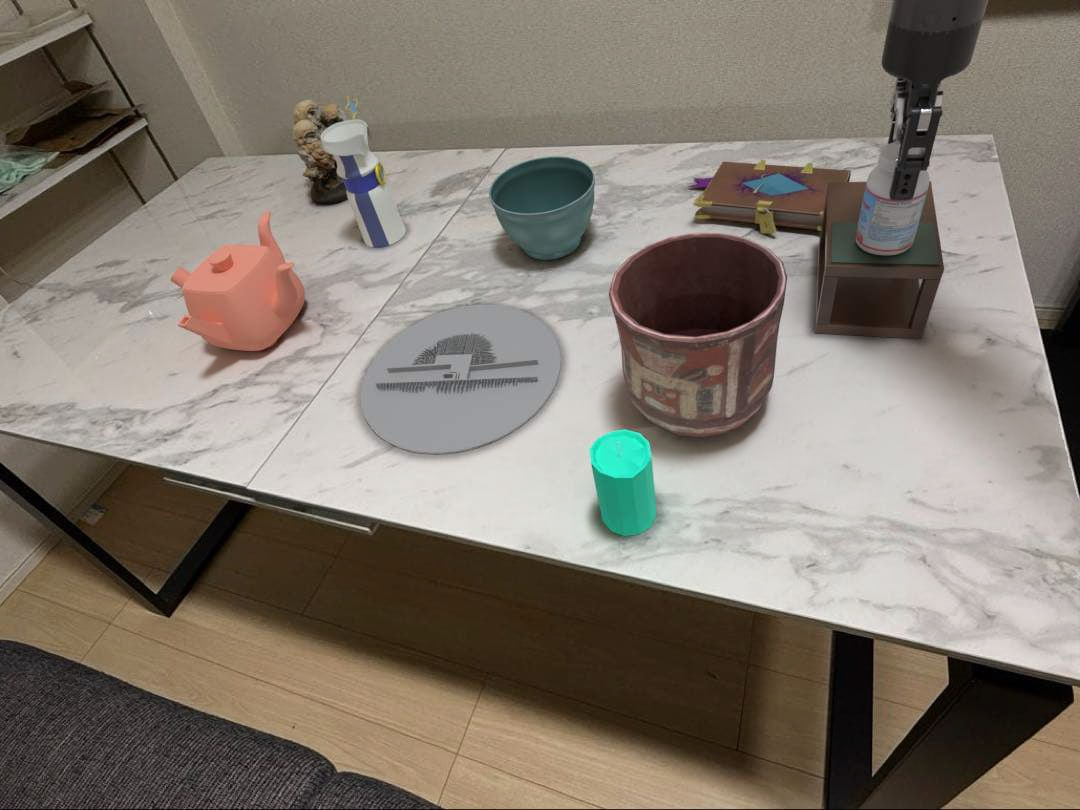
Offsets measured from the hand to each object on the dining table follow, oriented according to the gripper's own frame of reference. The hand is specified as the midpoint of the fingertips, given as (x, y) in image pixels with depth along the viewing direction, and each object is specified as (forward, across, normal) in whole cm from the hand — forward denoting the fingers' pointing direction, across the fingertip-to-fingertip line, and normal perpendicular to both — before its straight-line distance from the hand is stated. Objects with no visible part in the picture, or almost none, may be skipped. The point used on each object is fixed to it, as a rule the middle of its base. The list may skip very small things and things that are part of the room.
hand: (898, 176), depth 71 cm
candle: (+19, -34, +24) cm, 46 cm away
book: (+19, +24, +15) cm, 35 cm away
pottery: (+19, -18, +19) cm, 32 cm away
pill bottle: (+8, 0, 0) cm, 9 cm away
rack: (+19, +4, 0) cm, 20 cm away
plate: (+19, -16, +51) cm, 57 cm away
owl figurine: (+19, +32, +96) cm, 103 cm away
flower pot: (+19, +14, +46) cm, 52 cm away
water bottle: (+19, +16, +78) cm, 82 cm away
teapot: (+19, -10, +88) cm, 91 cm away
